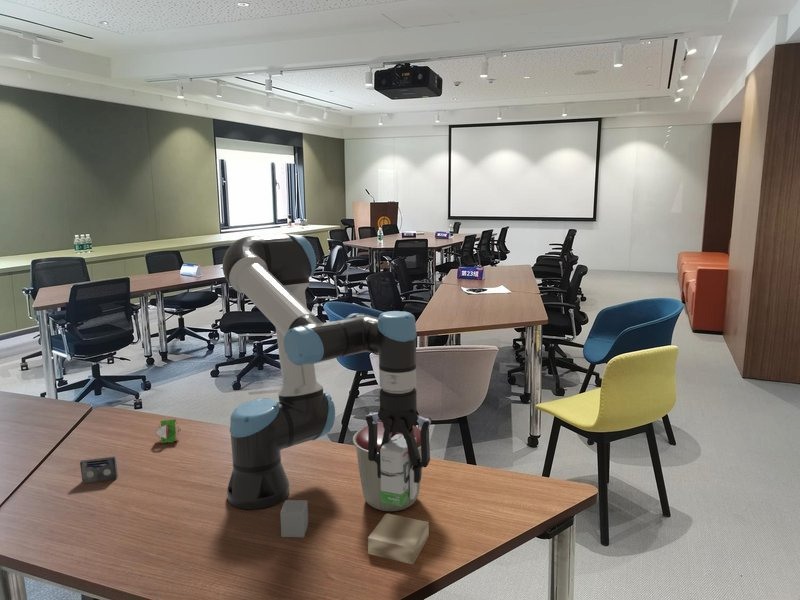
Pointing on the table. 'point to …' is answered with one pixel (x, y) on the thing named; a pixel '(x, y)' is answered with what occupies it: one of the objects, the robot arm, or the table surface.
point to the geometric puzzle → (167, 431)
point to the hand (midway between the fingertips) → (399, 493)
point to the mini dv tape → (98, 469)
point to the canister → (369, 469)
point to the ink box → (395, 471)
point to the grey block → (294, 518)
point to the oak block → (398, 538)
